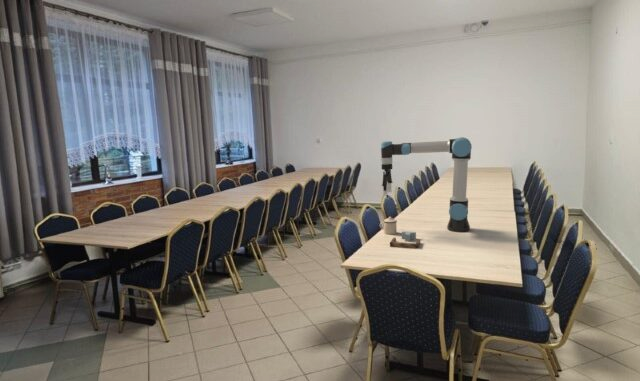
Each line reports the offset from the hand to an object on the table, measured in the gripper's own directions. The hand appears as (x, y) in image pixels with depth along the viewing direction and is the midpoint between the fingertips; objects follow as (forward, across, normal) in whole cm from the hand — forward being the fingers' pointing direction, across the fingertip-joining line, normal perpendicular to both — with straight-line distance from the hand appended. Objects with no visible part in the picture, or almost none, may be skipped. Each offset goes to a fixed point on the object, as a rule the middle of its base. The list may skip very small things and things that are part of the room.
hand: (387, 193), depth 283 cm
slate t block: (+27, +19, +17) cm, 38 cm away
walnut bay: (+27, +31, +18) cm, 45 cm away
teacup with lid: (+27, +6, +1) cm, 28 cm away
